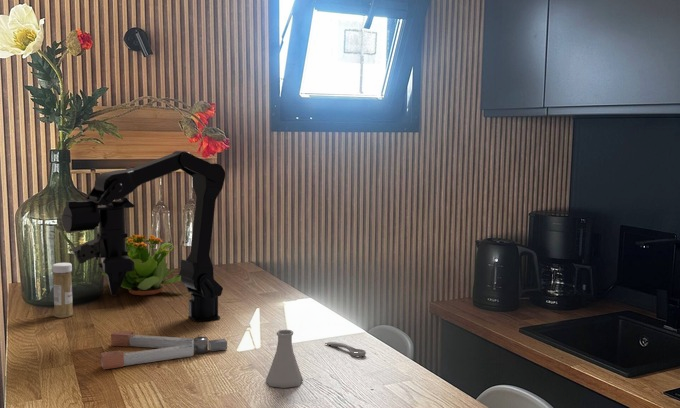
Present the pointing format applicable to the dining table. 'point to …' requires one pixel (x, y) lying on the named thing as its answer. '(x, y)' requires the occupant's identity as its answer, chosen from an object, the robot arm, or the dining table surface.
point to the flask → (284, 363)
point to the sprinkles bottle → (62, 289)
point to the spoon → (351, 349)
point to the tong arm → (157, 341)
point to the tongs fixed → (154, 354)
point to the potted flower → (146, 266)
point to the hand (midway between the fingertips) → (114, 295)
